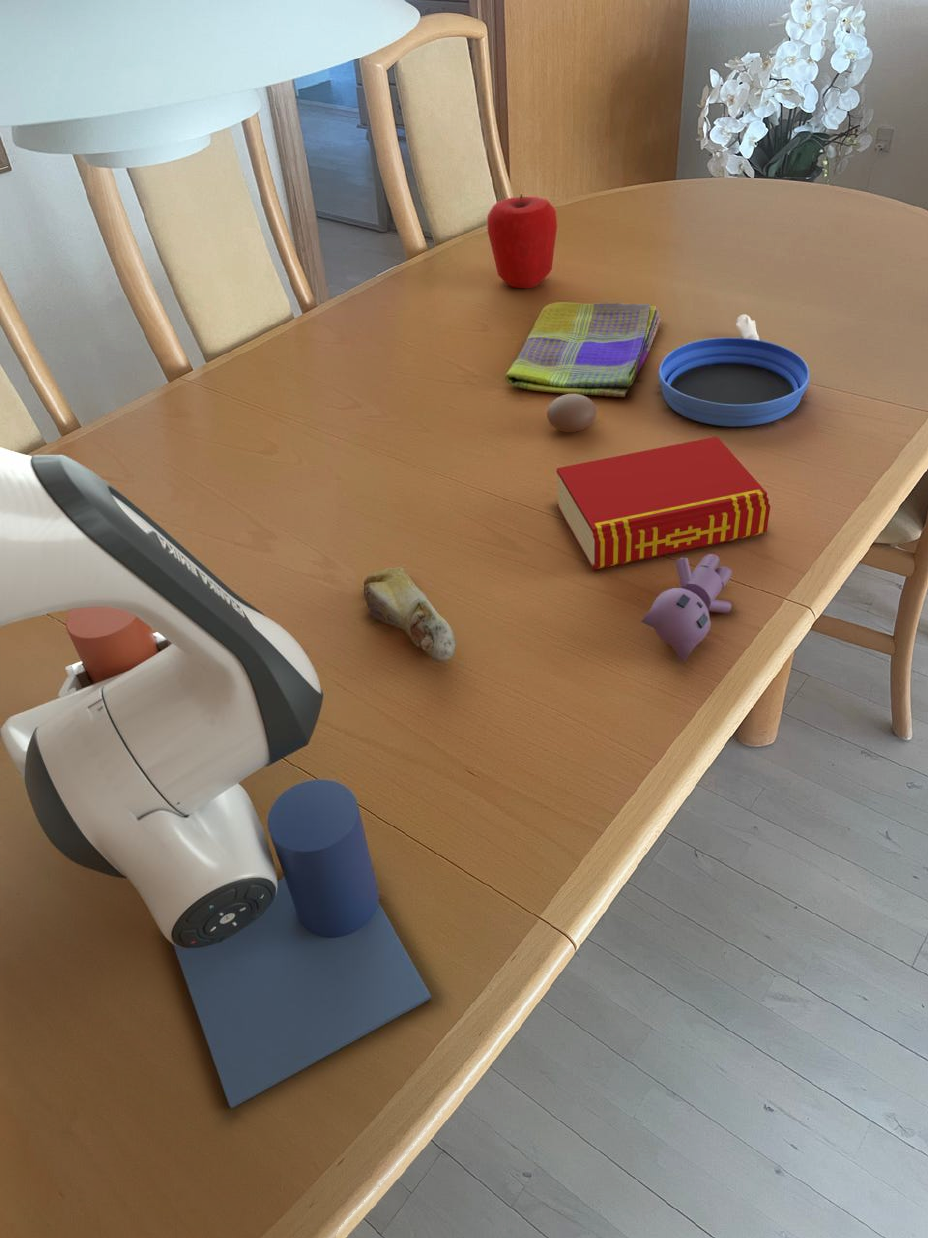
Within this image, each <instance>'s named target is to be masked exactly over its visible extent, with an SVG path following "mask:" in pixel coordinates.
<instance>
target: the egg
mask: <svg viewBox="0 0 928 1238" xmlns="http://www.w3.org/2000/svg"><path fill="white" fill-rule="evenodd" d="M596 407H597V406H596V405H595V402H593V400H591V399H590V398H589V397H588V396H585V395H584V394H568V393H566V394H563V395H560V396H557V397H556V398H554V400H553V401H551V402H550V404H549V405H548V407H547V410H546V418H547V420H548V422H549V424H550V425H551V426H552V427H553V428H554V429H556V430H559V431H561V432H565V433H576V432H580V431H583V430H585V429H587V428H589V427H590V426H591V425H592V424H593V423H594V421H595V419H596V416H597V408H596Z"/></svg>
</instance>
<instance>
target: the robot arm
mask: <svg viewBox="0 0 928 1238" xmlns="http://www.w3.org/2000/svg"><path fill="white" fill-rule="evenodd" d="M85 607H113V608H118V609H122V610H125V611H128V612H130V613H132V614H133V615H135V616H136V617H138V618H139V619H140V620H142V621H143V622H144V623H146V624H147V625H148V626H150V627H151V629H152V630H154V631H155V632H153V635H154V637H155V641H156V643H157V646H158V648H159V651H160V652H159V653H157V654H156V655H154V656H152V657H151V658H149V659H148V660H146V661H144V662H143V663H141V664H139V665H138V666H136V667H135V668H133V669H131V670H129V671H127V672H124V673H122V674H119V675H117V676H114V677H111V678H109V679H106V680H104V681H101V682H99V683H96V684H92V682H91V680H90V678H89V676H88V673H87V671H86V669H85V667H84V665H83V663H82V661H81V660H79V661H76V662H74V663H71V664H69V665H66V666H64V669H65V672H66V675H67V677H66V678H65V680H64V682H63V684H62V686H61V687H60V689H59V691H58V693H57V695H58V698H56V699H53V700H50V701H47V702H45V703H42V704H40V705H37V706H35V707H33V708H29V709H27V710H25V711H22V712H19V713H16V714H14V715H11V716H10V717H8V718H7V719H6V721H5V722H4V723H3V725H2V726H1V728H0V736H1V740H2V742H3V746H4V747H5V749H6V751H7V753H8V755H9V757H10V759H11V761H12V763H13V764H14V767H16V769H17V771H18V774H19V775H20V776H21V778H22V780H23V781H24V785H25V790H26V793H27V797H28V799H29V802H30V805H31V807H32V811H33V812H34V816H35V817H36V820H37V822H38V824H39V826H40V828H41V830H42V831H43V833H44V834H45V836H46V838H47V839H48V840H49V842H50V843H51V845H53V846H54V847H55V848H56V849H57V850H58V851H59V853H61V854H62V855H63V856H64V857H66V858H67V859H68V860H69V861H71V862H73V863H75V864H77V865H78V866H81V867H83V868H86V869H89V870H92V871H95V872H97V873H101V874H103V875H106V876H110V877H115V878H120V879H128V880H129V881H130V883H131V884H132V885H133V887H134V888H135V890H136V891H137V892H138V893H139V896H140V897H141V899H142V900H143V902H144V904H145V906H146V907H147V909H148V911H149V913H150V914H151V916H152V918H153V920H154V922H155V924H156V925H157V928H159V930H160V932H161V934H162V935H163V936H164V937H165V939H166V940H168V942H169V943H171V944H172V945H173V944H174V945H175V946H178V947H181V948H200V947H205V946H209V945H213V944H215V943H220V942H222V941H224V940H226V939H228V938H229V937H231V936H233V935H234V934H236V933H238V932H239V931H241V930H242V929H244V928H245V927H247V926H248V925H249V924H251V923H252V922H254V921H255V920H256V919H258V918H259V917H260V916H261V915H262V914H263V913H264V912H265V911H266V909H267V908H268V907H269V906H270V905H271V903H272V902H273V900H274V898H275V895H276V892H277V887H278V884H277V881H278V877H277V876H278V875H277V871H276V867H275V866H276V865H275V862H274V858H273V854H272V852H271V851H272V850H271V848H270V844H269V842H268V839H267V836H266V833H265V830H264V827H263V825H262V822H261V819H260V817H259V815H258V812H257V810H256V808H255V806H254V804H253V802H252V799H251V797H250V796H249V794H248V792H247V791H246V790H245V788H244V787H243V786H242V785H241V784H240V783H241V782H242V781H244V780H245V779H247V778H248V777H250V776H251V775H253V774H255V773H256V772H257V771H259V770H261V769H262V768H264V767H269V766H272V765H273V764H275V763H277V762H279V761H280V760H282V759H284V758H286V757H288V756H290V755H292V754H293V753H295V752H298V751H299V750H301V749H304V748H305V747H306V746H308V745H309V743H310V741H311V739H312V736H313V735H314V732H315V729H316V726H317V723H318V722H319V721H318V720H319V717H320V713H321V710H322V706H323V700H324V692H323V690H322V688H321V684H320V679H319V677H318V674H317V672H316V670H315V667H314V665H313V663H312V662H311V660H310V658H309V656H308V655H307V653H306V652H305V650H304V649H303V647H302V646H301V645H300V643H298V641H297V640H296V639H295V638H294V637H293V635H291V633H289V632H288V631H287V630H286V629H285V628H284V627H282V626H281V625H280V624H279V623H277V622H275V621H274V620H273V619H271V618H269V617H268V616H267V615H266V614H265V613H264V612H262V611H261V610H260V609H258V608H257V607H256V606H254V605H253V604H251V603H249V602H248V601H246V600H245V599H244V598H242V597H241V596H239V595H238V594H237V593H235V592H234V590H232V589H231V588H230V587H228V585H227V584H225V583H224V582H223V581H222V580H221V579H220V578H219V577H218V576H216V575H215V574H214V573H213V572H212V571H211V570H210V569H208V567H206V566H205V565H204V564H203V563H202V562H201V561H200V560H199V559H197V558H196V557H195V556H194V555H193V554H192V553H190V551H188V550H187V549H186V548H185V547H184V546H183V545H182V544H181V543H179V542H178V541H177V540H176V539H175V538H174V537H173V536H171V535H170V534H169V533H168V532H167V531H166V530H165V529H164V528H163V527H161V526H160V525H159V524H158V523H156V521H154V520H153V519H152V518H151V517H150V516H149V515H148V514H146V513H145V512H144V511H143V510H142V509H140V508H139V507H138V506H137V505H135V504H134V503H133V502H132V501H131V500H129V499H128V497H126V496H125V495H124V494H123V493H121V492H120V491H119V490H118V489H116V488H115V487H114V486H112V485H111V484H110V483H109V482H107V481H106V480H105V479H104V478H102V477H100V475H98V474H97V473H95V472H94V471H93V470H91V469H89V468H87V466H84V465H83V464H81V463H79V462H78V461H76V460H74V459H73V458H70V457H69V456H67V455H64V454H33V455H29V454H24V453H20V452H16V451H13V450H11V449H7V448H4V447H1V446H0V627H3V626H7V625H10V624H13V623H17V622H21V621H24V620H28V619H32V618H37V617H40V616H43V615H49V614H54V613H58V612H63V611H71V610H72V609H76V608H85Z"/></svg>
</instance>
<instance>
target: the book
mask: <svg viewBox="0 0 928 1238" xmlns="http://www.w3.org/2000/svg"><path fill="white" fill-rule="evenodd" d="M556 473H557V492H558V493H557V495H558V497H557V498H558V503H556V505H557V506H556V507H557V509H558V511H559V513H560V514H561V517H562V518H563V520H564V522H565V524H566V525H567V527H568V529H569V530H570V532H571V534H572V536H573V537H574V539H575V541H576V543H577V545H578V546H579V548H580V550H581V552H582V554H583V555H584V557H585V559H586V561H587V562H588V565H589V566H590V568H591V570H592V571H594V570H599V569H605V568H610V567H612V566H613V567H614V566H618V565H623V564H629V563H632V562H638V561H642V560H647V559H650V558H652V559H653V558H655V557H660V556H665V555H669V554H674V553H679V552H683V551H689V550H693V549H699V548H702V547H703V548H704V547H708V546H712V545H717V544H721V543H726V542H732V541H735V540H736V541H737V540H740V539H744V538H749V537H755V536H759V535H762V534H764V533H767V532H768V525H769V518H770V512H771V505H770V504H769V501H770V499H769V498H768V492H767V491H766V490H765V489H764V488H763V486H762V485H760V482H758V481H757V480H756V479H755V478H754V476H753V475H752V474H751V473H750V472H749V471H748V469H747V468H746V467H745V466H744V465H743V463H741V461H740V460H739V459H738V458H737V457H736V456H735V455H734V454H733V452H732V451H731V450H730V449H729V448H728V447H727V445H725V444H724V442H723V441H722V440H721V439H720V438H719V437H718V436H712V437H708V438H707V437H706V438H702V439H698V440H692V441H687V442H681V443H676V444H672V445H667V446H662V447H657V448H652V449H647V450H642V451H637V452H631V453H627V454H622V455H621V454H620V455H617V456H616V455H615V456H611V457H607V458H601V459H596V460H591V461H587V462H581V463H576V464H571V465H567V466H560V467H557V468H556Z"/></svg>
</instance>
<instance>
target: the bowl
mask: <svg viewBox="0 0 928 1238" xmlns="http://www.w3.org/2000/svg"><path fill="white" fill-rule="evenodd" d="M658 380H659V385H660V388H661V390H662V391H661V392H662V397H663V399H664V401H665V402H666V404H667V405H668V407H670V408H671V409H672V410H673V411H675V413H677V414H679V415H681V416H682V417H685V418H687V419H689V420H692V421H695V422H699V423H703V424H707V425H712V426H720V427H734V428H735V427H737V428H739V427H753V426H758V425H765V424H768V423H772V422H775V421H777V420H780V419H782V418H784V417H786V416H788V415H789V414H791V413H792V412H793V411H794V410H795V409H796V408H797V407H798V406H799V404H800V403H801V400H802V396H803V395H805V392H806V390H807V388H808V385H809V382H810V368H809V366H808V364H807V362H806V361H805V359H804V358H802V357H801V356H800V355H799V354H798V353H796V352H795V351H792V350H791V349H789V348H787V347H784V346H782V345H780V344H777V343H772V342H769V341H765V340H760V339H759V340H755V339H747V338H743V337H713V338H706V339H700V340H695V341H691V342H689V343H685V344H684V345H680V346H678V347H677V348H675V349H673V350H671V351H670V352H669V353H668V354H667V355H665V357H664V358H663V359H662V361H661V363H660V365H659V369H658Z"/></svg>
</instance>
